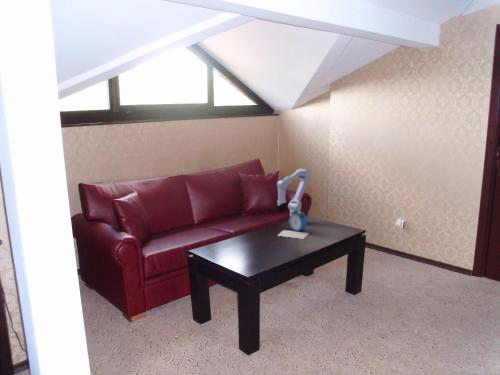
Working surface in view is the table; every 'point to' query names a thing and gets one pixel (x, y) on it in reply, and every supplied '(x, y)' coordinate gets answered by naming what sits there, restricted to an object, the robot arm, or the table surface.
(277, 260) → the table surface
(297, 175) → the robot arm
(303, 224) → the alarm clock
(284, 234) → the mat
